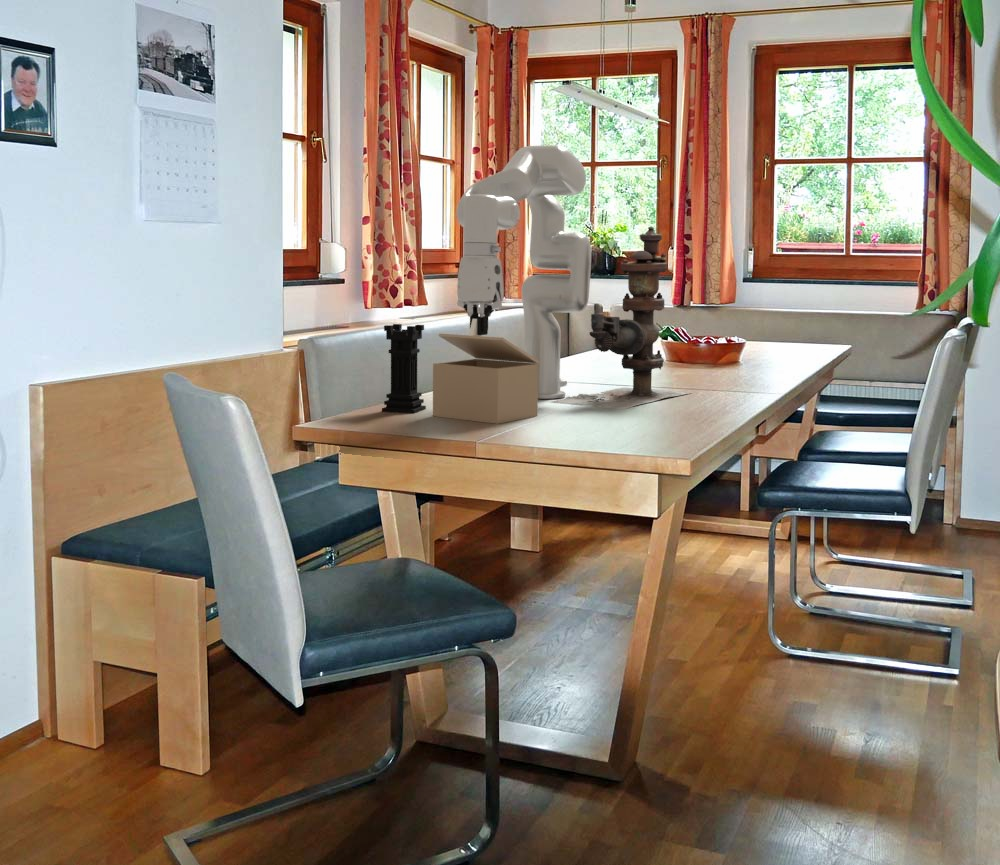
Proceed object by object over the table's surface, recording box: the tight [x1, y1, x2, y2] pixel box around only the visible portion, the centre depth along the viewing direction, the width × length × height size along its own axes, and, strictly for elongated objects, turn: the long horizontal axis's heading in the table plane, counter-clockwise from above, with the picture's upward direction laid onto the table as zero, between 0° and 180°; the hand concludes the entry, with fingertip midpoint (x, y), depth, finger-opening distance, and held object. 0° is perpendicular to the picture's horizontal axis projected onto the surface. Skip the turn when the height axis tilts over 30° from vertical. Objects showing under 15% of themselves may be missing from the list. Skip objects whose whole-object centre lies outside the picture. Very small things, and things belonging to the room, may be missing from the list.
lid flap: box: [438, 319, 539, 363], centre depth 254 cm, size 16×18×5 cm
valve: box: [551, 226, 691, 410], centre depth 290 cm, size 42×20×45 cm, turn 147°
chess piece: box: [381, 323, 427, 414], centre depth 261 cm, size 8×8×20 cm
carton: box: [432, 358, 539, 425], centre depth 255 cm, size 16×18×12 cm
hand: (478, 334), depth 250 cm, fingers closed
